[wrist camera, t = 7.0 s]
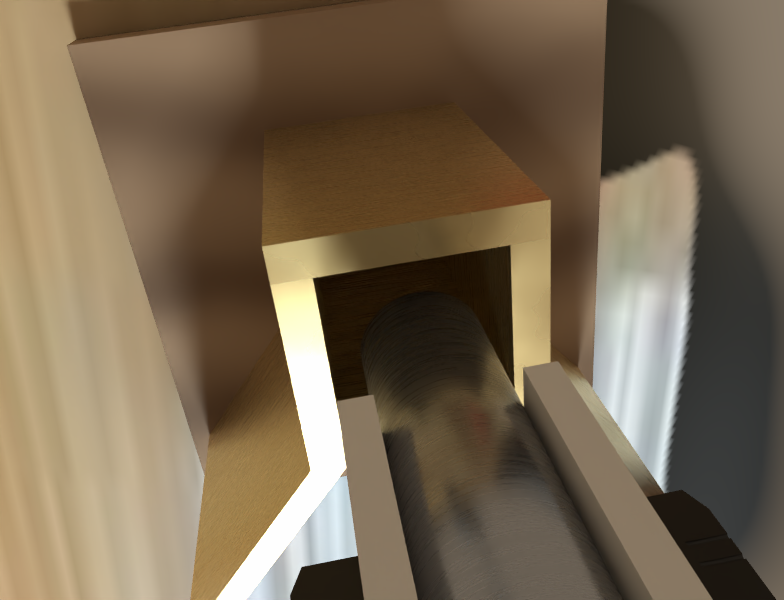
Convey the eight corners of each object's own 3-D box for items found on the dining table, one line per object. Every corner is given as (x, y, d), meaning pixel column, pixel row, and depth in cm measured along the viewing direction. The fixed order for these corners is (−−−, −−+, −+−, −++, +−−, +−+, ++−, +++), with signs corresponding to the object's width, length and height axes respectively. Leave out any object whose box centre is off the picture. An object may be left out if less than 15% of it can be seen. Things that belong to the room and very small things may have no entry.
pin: (390, 275, 17) (579, 836, 7) (503, 312, 18) (822, 851, 8) (341, 379, 18) (435, 992, 8) (450, 409, 19) (661, 987, 9)
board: (76, 39, 24) (66, 45, 23) (594, -31, 25) (608, -29, 24) (214, 482, 33) (212, 501, 32) (581, 413, 35) (590, 428, 34)
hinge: (123, 151, 24) (42, 282, 16) (585, 82, 26) (746, 167, 17) (212, 443, 31) (190, 651, 22) (577, 376, 32) (691, 547, 23)
